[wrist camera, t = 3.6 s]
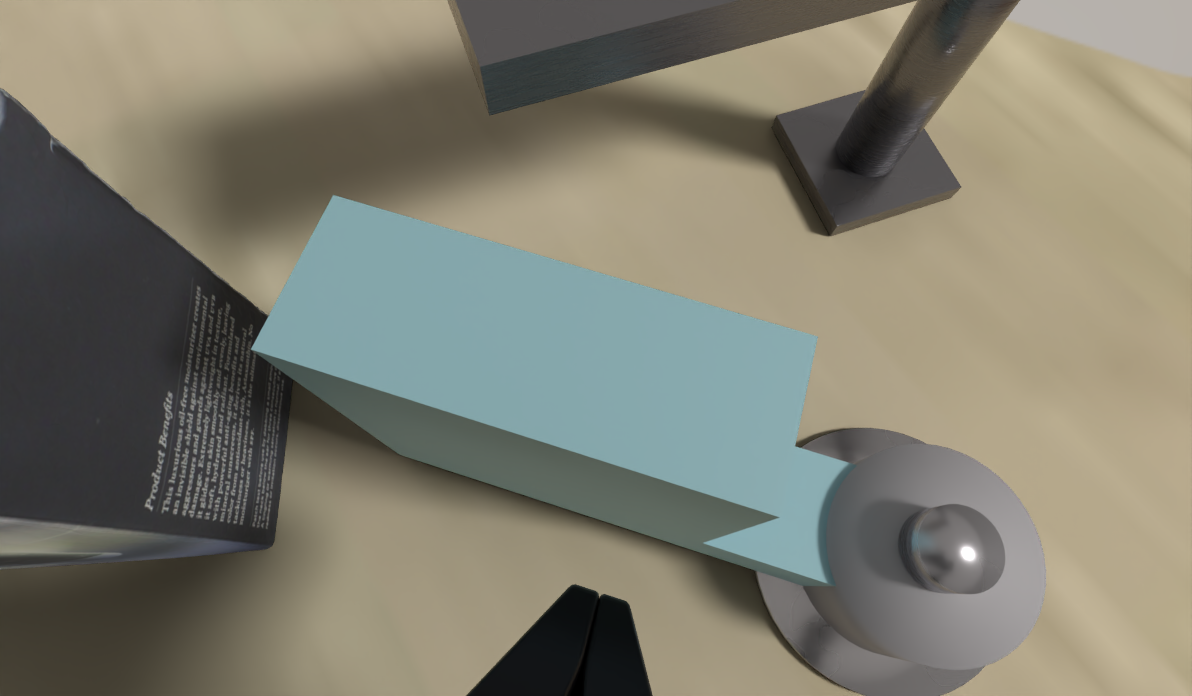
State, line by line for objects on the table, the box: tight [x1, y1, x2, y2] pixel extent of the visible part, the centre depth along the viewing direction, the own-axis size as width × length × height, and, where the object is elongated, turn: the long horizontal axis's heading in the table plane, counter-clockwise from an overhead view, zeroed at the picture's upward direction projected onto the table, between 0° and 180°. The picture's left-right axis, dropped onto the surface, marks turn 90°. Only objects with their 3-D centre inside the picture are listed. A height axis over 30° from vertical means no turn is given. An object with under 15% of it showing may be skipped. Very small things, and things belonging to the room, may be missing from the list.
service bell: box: [755, 428, 1005, 696], centre depth 15 cm, size 7×7×4 cm
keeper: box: [448, 0, 1020, 236], centre depth 16 cm, size 14×5×11 cm, turn 110°
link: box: [251, 195, 1046, 670], centre depth 13 cm, size 15×5×8 cm, turn 73°
